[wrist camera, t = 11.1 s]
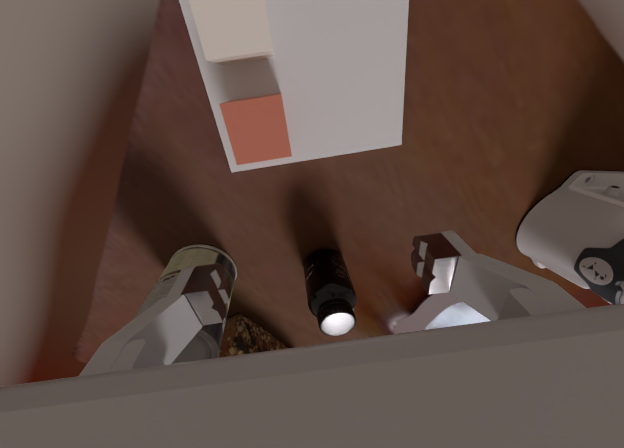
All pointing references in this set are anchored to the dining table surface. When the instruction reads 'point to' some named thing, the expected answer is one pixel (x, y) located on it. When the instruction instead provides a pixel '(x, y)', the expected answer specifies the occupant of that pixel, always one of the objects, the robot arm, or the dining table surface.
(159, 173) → the dining table surface
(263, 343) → the bread
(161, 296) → the coffee can
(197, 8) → the pale grey cube
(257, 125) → the salmon red cube
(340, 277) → the supplement bottle
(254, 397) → the robot arm
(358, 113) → the plate
